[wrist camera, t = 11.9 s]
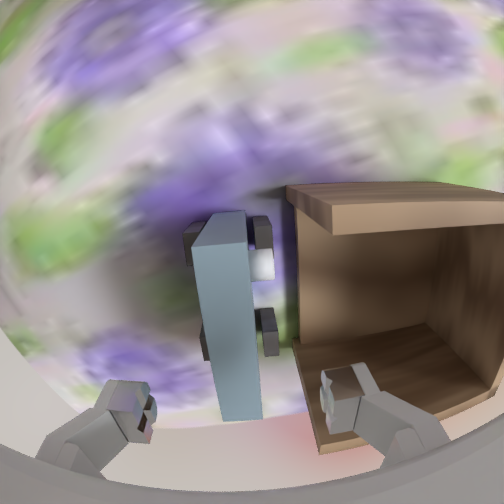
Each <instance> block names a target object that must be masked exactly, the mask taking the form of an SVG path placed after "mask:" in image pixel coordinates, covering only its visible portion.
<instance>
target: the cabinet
mask: <svg viewBox="0 0 504 504" xmlns="http://www.w3.org/2000/svg"><path fill="white" fill-rule="evenodd" d="M285 187H286V200H287V201H289V202H290V203H291V204H293V205H294V216H295V236H296V259H297V289H298V338H292V348H293V352H294V356H295V360H296V364H297V368H298V372H299V376H300V379H301V383H302V387H303V391H304V395H305V399H306V403H307V407H308V411H309V415H310V419H311V423H312V427H313V431H314V435H315V439H316V443H317V447H318V452H319V455H322V454H328V453H333V452H338V451H342V450H347V449H351V448H356V447H360V446H364V445H368V444H369V443H367V442H366V441H365V440H364V439H362V438H361V437H360V436H359V435H357V434H356V433H355V432H354V430H352V431H347V432H342V433H336V434H331V435H330V434H329V430H328V427H327V424H326V413H324V412H323V410H322V406H321V401H320V387H321V386H322V385H323V384H322V380H321V372H322V370H326V369H331V368H337V367H342V366H347V365H352V364H356V363H361V362H364V363H365V364H366V366H367V368H368V369H369V371H370V373H371V375H372V377H373V379H374V380H375V382H376V384H377V386H378V388H379V390H380V392H382V391H386V392H388V393H389V394H391V395H393V396H395V397H397V398H399V399H401V400H403V401H405V402H407V403H409V404H411V405H413V406H415V407H417V408H419V409H421V410H423V411H425V412H427V413H429V414H432V415H434V416H436V417H437V419H438V420H439V421H441V420H444V419H446V418H449V417H451V416H453V415H455V414H458V413H460V412H462V411H464V410H467V409H469V408H471V407H473V406H475V405H477V404H479V403H481V402H483V401H485V400H487V399H489V398H491V397H493V396H494V395H495V393H496V391H497V389H498V386H499V384H500V382H501V380H502V378H503V376H504V193H499V192H495V191H489V190H484V189H479V188H473V187H467V186H461V185H455V184H449V183H442V182H347V183H320V184H301V185H285ZM206 224H207V222H206V221H203V222H193V223H191V225H190V226H189V227H188V228H187V229H186V230H185V231H184V232H183V233H182V234H183V242H184V249H185V256H186V262H187V266H193V265H194V263H193V257H192V249H191V247H192V245H193V244H194V242H195V240H196V239H197V237H198V236H199V234H200V233H201V231H202V230H203V228H204V227H205V225H206ZM253 228H254V240H255V249H256V250H257V249H268V248H272V251H273V235H272V225H271V223H270V221H269V219H268V217H267V216H258V217H253ZM273 258H274V251H273ZM260 314H261V327H262V337H263V346H264V355H265V357H268V356H279V340H278V328H277V324H276V319H275V314H274V309H273V308H264V309H260ZM200 342H201V348H202V352H203V357H204V361H210V357H209V352H208V347H207V342H206V336H205V331H204V325H203V324H202V328H201V333H200Z"/></svg>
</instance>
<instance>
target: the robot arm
mask: <svg viewBox="0 0 504 504" xmlns="http://www.w3.org/2000/svg"><path fill="white" fill-rule="evenodd" d="M321 380H322V384H323V385H322V386H321V387H320V401H321V406H322V410H323V412H324V413H326V424H327V427H328V430H329V434H330V435H331V434H336V433H342V432H347V431H352V430H354V432H355V433H356V434H357V435H359V436H360V437H361V438H362V439H364V440H365V441H366V442H367V443H369V444H370V445H371V446H373V447H374V448H375V449H377V450H378V451H379V452H381V453H382V454H383V455H384V456H385V458H384V460H383V463H382V465H381V467H380V469H377V470H373V471H369V472H366V473H362V474H358V475H355V476H350V477H346V478H342V479H337V480H332V481H327V482H322V483H316V484H310V485H304V486H297V487H289V488H282V489H281V488H280V489H271V490H258V491H238V492H202V491H182V490H170V489H160V488H151V487H144V486H137V485H131V484H125V483H120V482H115V481H109V480H107V479H106V478H105V477H104V476H103V475H102V474H101V473H100V471H101V470H102V469H103V468H104V467H105V466H106V465H107V464H108V463H109V462H110V461H111V460H112V459H113V458H114V457H115V456H116V455H117V454H118V453H119V452H120V451H121V450H122V449H123V448H124V447H125V446H126V445H127V444H128V442H133V443H145V444H150V440H151V436H152V433H153V429H152V427H151V425H152V424H153V423H154V422H155V421H156V417H157V406H156V402H155V399H154V398H153V397H152V396H151V395H150V394H149V392H150V387H149V385H148V383H146V382H141V381H126V380H111V379H110V380H108V381H107V382H106V384H105V386H104V387H103V389H102V391H101V393H100V395H99V397H98V399H97V401H96V403H95V405H94V407H93V408H89V409H87V410H86V411H84V412H83V413H81V414H80V415H79V416H77V417H75V418H74V419H72V420H71V421H69V422H68V423H66V424H64V425H63V426H62V427H60V428H58V429H56V430H55V431H54V432H52V433H50V434H49V435H47V436H46V438H45V440H44V441H43V443H42V445H41V447H40V449H39V451H38V453H37V455H36V457H35V458H32V457H30V456H27V455H25V454H22V453H20V452H18V451H15V450H13V449H11V448H8V447H6V446H4V445H2V444H0V504H504V413H503V414H501V415H499V416H498V417H496V418H495V419H493V420H491V421H489V422H488V423H486V424H484V425H482V426H480V427H479V428H477V429H475V430H473V431H471V432H469V433H467V434H465V435H463V436H461V437H459V438H457V439H455V440H453V441H451V440H450V439H449V437H448V435H447V434H446V432H445V430H444V429H443V427H442V425H441V424H440V422H439V420H438V419H437V417H436V416H434V415H432V414H429V413H427V412H425V411H423V410H421V409H419V408H417V407H415V406H413V405H411V404H409V403H407V402H405V401H403V400H401V399H399V398H397V397H395V396H393V395H391V394H389V393H388V392H386V391H382V392H380V390H379V388H378V386H377V384H376V382H375V380H374V379H373V377H372V375H371V373H370V371H369V369H368V368H367V366H366V364H365V363H364V362H361V363H356V364H352V365H347V366H342V367H337V368H331V369H326V370H322V372H321Z"/></svg>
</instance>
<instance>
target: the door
mask: <svg viewBox="0 0 504 504" xmlns="http://www.w3.org/2000/svg"><path fill="white" fill-rule="evenodd" d="M191 249H192V257H193V263H194V270H195V277H196V283H197V290H198V296H199V302H200V308H201V314H202V320H203V325H204V331H205V336H206V342H207V347H208V352H209V357H210V362H211V367H212V372H213V377H214V382H215V387H216V391H217V396H218V401H219V405H220V410H221V414H222V418H223V421H245V420H260V419H263V414H262V401H261V389H260V376H259V363H258V350H257V337H256V326H255V315H254V304H253V293H252V282H254V281H265V280H274V279H275V270H274V258H273V251H272V248H268V249H257V250H249V247H248V236H247V225H246V213H245V210H244V211H232V212H222V213H213V215H212V216H211V218H210V219H209V221H208V222H207V224H206V225H205V227H204V228H203V230H202V231H201V233H200V234H199V236H198V237H197V239H196V240H195V242H194V244H193V245H192V247H191Z"/></svg>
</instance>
